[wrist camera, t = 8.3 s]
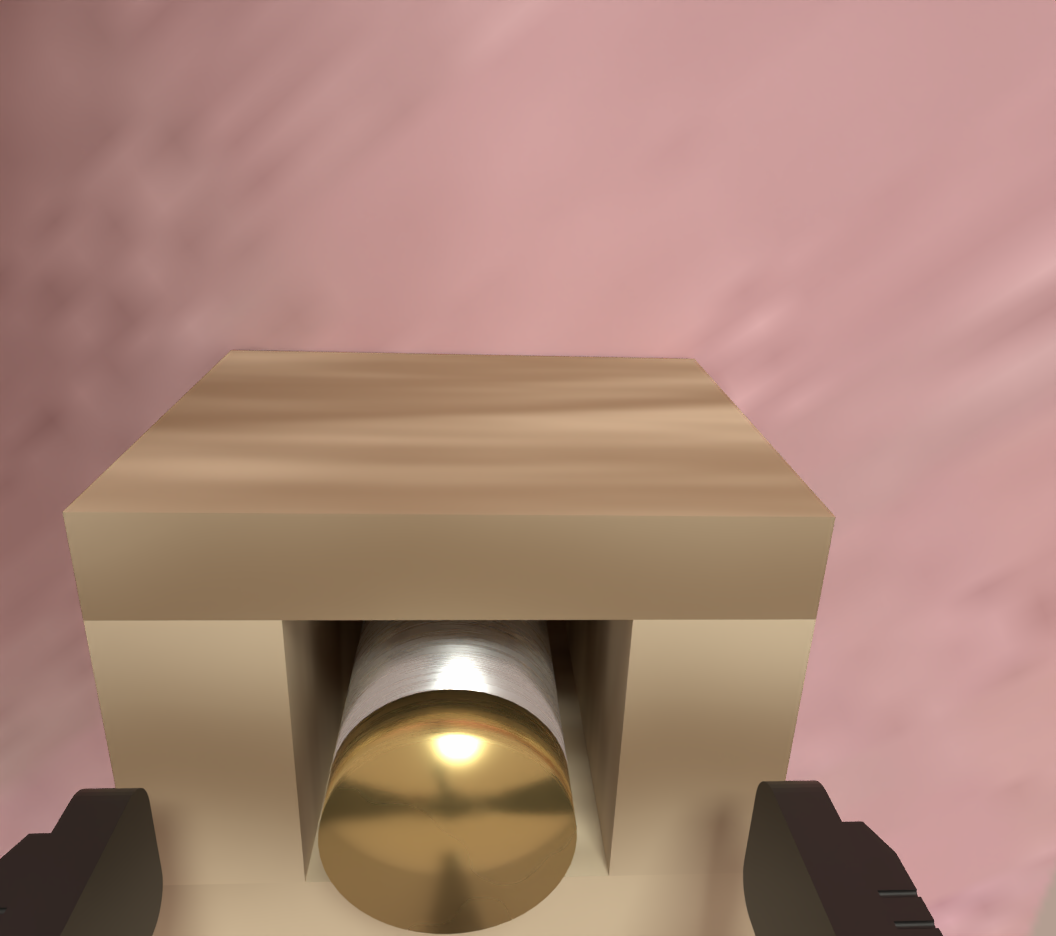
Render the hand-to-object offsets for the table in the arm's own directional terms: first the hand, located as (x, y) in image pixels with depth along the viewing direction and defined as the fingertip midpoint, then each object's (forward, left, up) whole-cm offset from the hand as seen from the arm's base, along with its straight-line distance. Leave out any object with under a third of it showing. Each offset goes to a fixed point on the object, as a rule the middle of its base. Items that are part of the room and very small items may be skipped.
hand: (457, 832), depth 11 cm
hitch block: (+4, 0, -9) cm, 10 cm away
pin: (0, 0, -9) cm, 9 cm away
